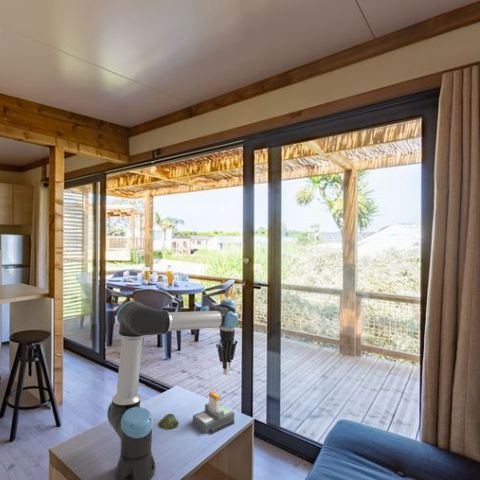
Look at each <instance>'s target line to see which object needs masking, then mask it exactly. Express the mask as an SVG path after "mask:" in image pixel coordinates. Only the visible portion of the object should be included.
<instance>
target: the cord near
mask: <svg viewBox="0 0 480 480" xmlns="http://www.w3.org/2000/svg"><path fill="white" fill-rule="evenodd" d="M234 424H235V419H234V420H233V419H230V420H228V421H225V422H223V423H221V424H219V425H217V426H215V427H212V428H210V432H209V433H210V434H211V435H213V434H216V433H218V432H219V431H222V430H224V429H225V428H228V427H230V426H232V425H234Z"/></svg>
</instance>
